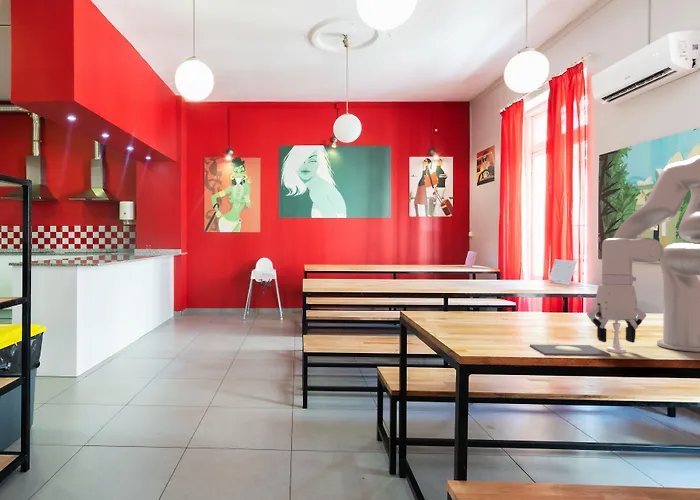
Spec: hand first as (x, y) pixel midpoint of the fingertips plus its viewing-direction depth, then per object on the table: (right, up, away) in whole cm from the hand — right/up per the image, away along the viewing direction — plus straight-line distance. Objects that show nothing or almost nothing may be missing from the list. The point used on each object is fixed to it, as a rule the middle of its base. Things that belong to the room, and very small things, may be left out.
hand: (616, 341), depth 127 cm
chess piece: (0, -3, 0) cm, 3 cm away
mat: (-14, -3, 0) cm, 14 cm away
